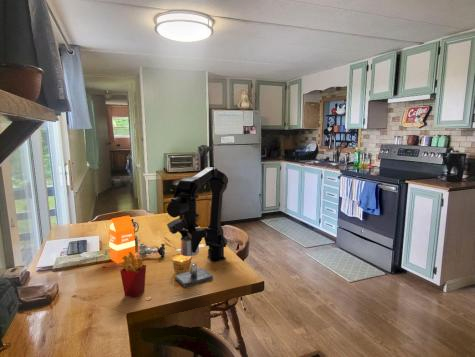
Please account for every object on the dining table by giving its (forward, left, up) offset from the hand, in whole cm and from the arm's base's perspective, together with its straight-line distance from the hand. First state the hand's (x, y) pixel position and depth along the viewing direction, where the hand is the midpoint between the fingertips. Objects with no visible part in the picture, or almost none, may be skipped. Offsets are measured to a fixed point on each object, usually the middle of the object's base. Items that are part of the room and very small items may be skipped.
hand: (190, 249), depth 119 cm
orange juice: (+17, -37, -12) cm, 42 cm away
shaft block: (-1, +1, -12) cm, 12 cm away
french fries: (+23, -1, -12) cm, 26 cm away
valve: (+6, -30, -12) cm, 33 cm away
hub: (0, 0, -1) cm, 1 cm away
